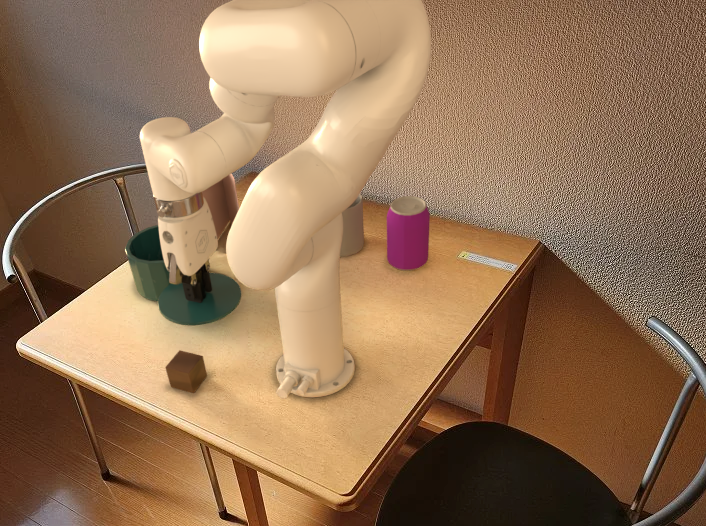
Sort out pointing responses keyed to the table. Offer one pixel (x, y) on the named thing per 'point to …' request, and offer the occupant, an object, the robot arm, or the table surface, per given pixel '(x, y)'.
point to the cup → (353, 228)
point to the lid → (209, 310)
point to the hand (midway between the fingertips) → (199, 294)
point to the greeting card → (222, 203)
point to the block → (186, 371)
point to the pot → (147, 263)
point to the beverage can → (408, 233)
